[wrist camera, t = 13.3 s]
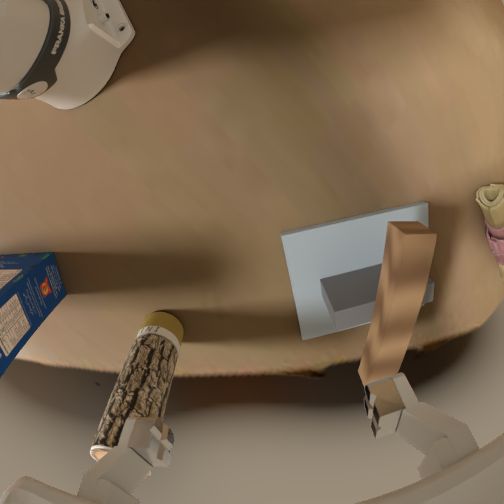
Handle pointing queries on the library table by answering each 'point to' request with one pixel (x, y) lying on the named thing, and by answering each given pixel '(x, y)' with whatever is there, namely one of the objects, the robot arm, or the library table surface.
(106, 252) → the library table surface
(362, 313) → the ridge stand
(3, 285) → the pasta box
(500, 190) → the scroll
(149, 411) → the bark cylinder
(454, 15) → the library table surface
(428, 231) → the light brown wooden bar
